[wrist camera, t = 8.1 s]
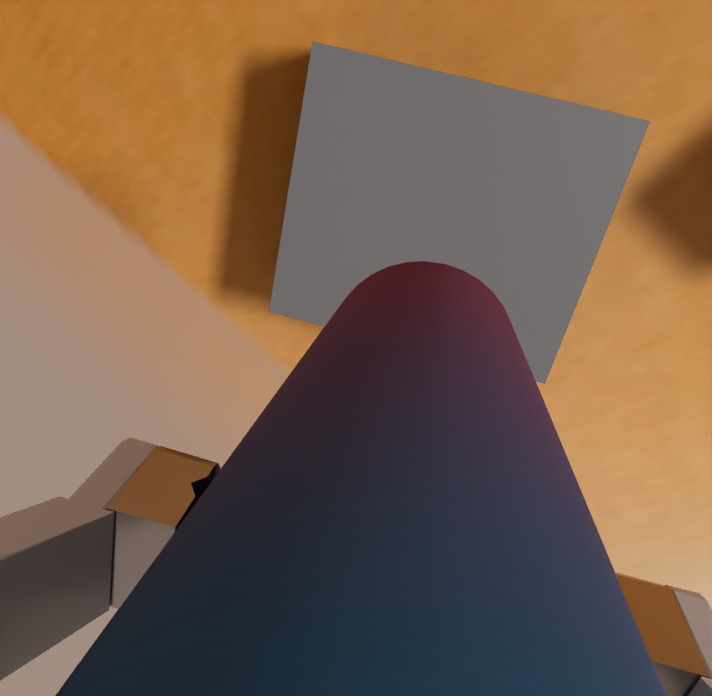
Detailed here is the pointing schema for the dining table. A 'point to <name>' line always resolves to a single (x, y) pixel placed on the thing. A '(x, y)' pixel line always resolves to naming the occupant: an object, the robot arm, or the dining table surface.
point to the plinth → (448, 190)
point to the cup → (386, 530)
